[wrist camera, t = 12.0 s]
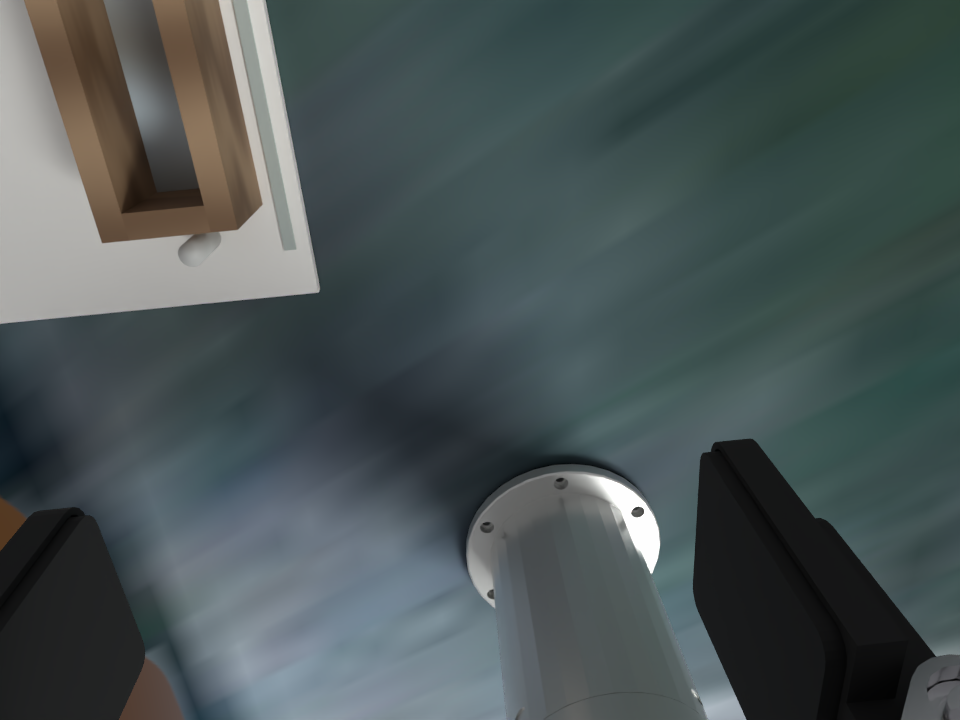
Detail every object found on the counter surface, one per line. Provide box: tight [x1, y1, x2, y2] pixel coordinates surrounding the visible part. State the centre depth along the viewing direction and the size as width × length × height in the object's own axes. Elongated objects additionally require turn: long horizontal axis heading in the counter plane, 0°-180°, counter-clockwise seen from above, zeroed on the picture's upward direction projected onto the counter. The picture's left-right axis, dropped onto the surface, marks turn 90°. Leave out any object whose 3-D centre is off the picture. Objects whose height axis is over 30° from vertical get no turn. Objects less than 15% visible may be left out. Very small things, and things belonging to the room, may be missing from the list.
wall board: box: [0, 0, 320, 324], centre depth 32 cm, size 22×19×4 cm
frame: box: [24, 0, 263, 243], centre depth 31 cm, size 14×6×5 cm, turn 5°
